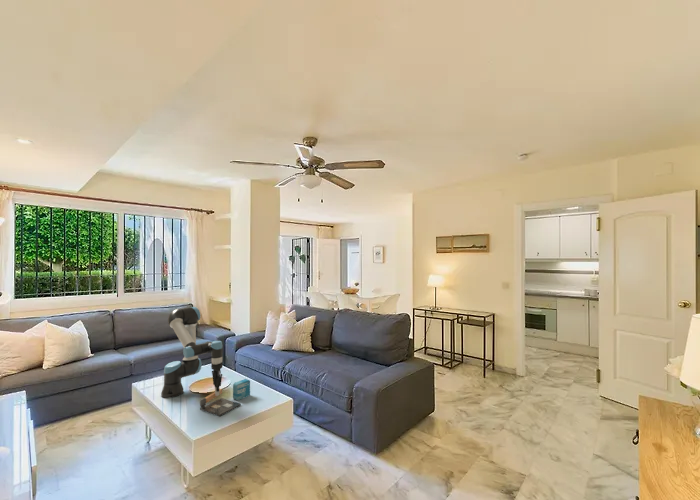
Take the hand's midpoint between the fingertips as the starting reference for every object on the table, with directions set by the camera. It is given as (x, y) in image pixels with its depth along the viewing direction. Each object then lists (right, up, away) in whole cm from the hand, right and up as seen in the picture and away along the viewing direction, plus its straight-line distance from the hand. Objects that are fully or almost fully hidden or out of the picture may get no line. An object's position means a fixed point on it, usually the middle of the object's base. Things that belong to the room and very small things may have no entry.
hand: (217, 395), depth 237 cm
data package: (+15, -5, +8) cm, 18 cm away
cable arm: (-3, -2, -2) cm, 4 cm away
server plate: (+6, -5, -8) cm, 11 cm away
